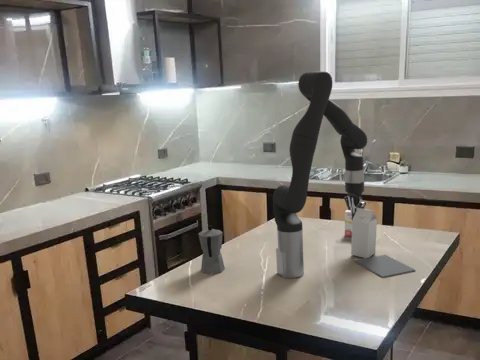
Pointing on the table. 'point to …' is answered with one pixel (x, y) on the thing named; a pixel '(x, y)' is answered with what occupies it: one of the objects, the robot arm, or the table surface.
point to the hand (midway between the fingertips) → (355, 221)
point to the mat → (384, 266)
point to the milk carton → (364, 233)
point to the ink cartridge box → (348, 223)
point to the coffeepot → (211, 251)
